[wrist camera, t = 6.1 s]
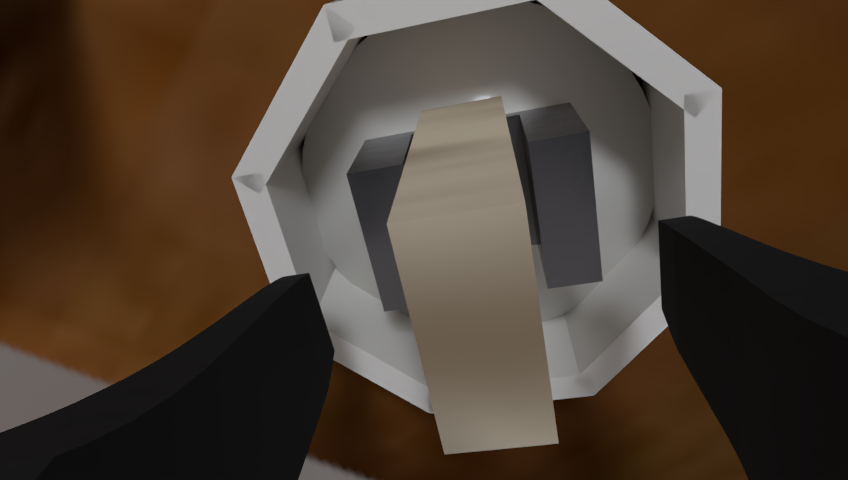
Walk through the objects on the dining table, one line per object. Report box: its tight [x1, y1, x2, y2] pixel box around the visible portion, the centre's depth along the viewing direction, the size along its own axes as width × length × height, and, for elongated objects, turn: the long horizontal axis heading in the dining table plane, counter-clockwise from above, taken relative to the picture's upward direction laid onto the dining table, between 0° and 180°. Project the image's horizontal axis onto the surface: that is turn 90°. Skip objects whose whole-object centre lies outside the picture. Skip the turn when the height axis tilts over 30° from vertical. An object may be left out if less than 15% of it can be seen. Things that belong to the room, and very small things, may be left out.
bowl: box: [232, 0, 722, 414], centre depth 16 cm, size 12×12×4 cm
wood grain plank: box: [387, 96, 559, 455], centre depth 14 cm, size 5×2×8 cm, turn 12°
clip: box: [346, 102, 603, 312], centre depth 16 cm, size 4×6×3 cm
